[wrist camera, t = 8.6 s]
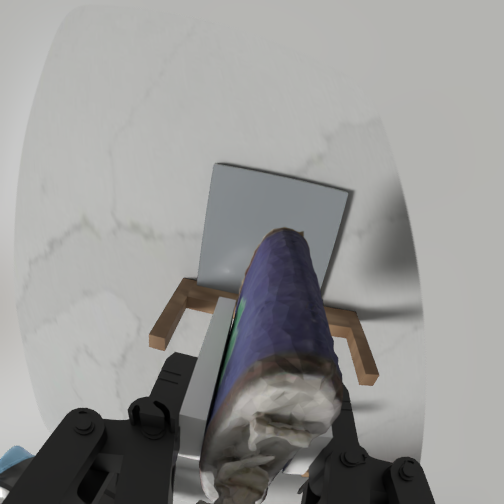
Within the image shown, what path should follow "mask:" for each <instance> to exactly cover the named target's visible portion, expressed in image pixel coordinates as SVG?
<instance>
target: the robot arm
mask: <svg viewBox="0 0 504 504" xmlns="http://www.w3.org/2000/svg"><path fill="white" fill-rule="evenodd" d="M235 303H236V300H233V299H229V298H224V297H219V299H218V302H217V305H216V307H215V310H214V313H213V316H212V319H211V322H210V325H209V328H208V330H207V333H206V336H205V339H204V342H203V345H202V348H201V351H200V354H199V357H193V356H189V355H185V354H181V353H178V352H175V353H173V354H172V355H171V356H170V357H168V358H167V359H166V361H165V363H164V365H163V367H162V370H161V372H160V374H159V376H158V379H157V380H156V383H155V385H154V387H153V389H152V391H151V394H150V396H149V397H143V398H139V399H137V400H135V401H134V402H133V403H131V405H130V407H129V408H128V414H129V419H128V420H110V419H102V417H101V416H100V414H98V413H97V412H96V411H94V410H91V409H88V408H77V409H74V410H72V411H71V412H69V413H68V414H67V415H66V416H65V418H64V419H63V420H62V421H61V423H60V424H59V425H58V427H57V428H56V429H55V430H54V432H53V433H52V434H51V436H50V437H49V438H48V440H47V441H46V442H45V444H44V445H43V446H42V448H41V449H40V450H39V452H38V453H37V454H36V456H34V455H32V454H30V453H29V452H28V451H26V450H25V449H24V448H22V447H20V446H14V447H12V448H11V449H9V450H8V451H7V452H6V453H5V454H4V455H3V456H2V458H1V459H0V504H173V492H174V481H175V470H176V460H177V456H178V453H179V456H183V457H187V458H191V459H195V460H200V455H201V448H202V444H203V440H204V436H205V432H206V428H207V425H208V422H209V418H210V413H211V410H212V406H213V402H214V398H215V393H216V390H217V386H218V382H219V377H220V372H221V368H222V365H223V362H224V357H225V353H226V349H227V344H228V340H229V335H230V329H231V324H232V319H233V314H234V308H235ZM342 384H343V382H342ZM308 469H309V479H308V480H307V481H306V482H305V483H304V484H303V485H302V486H301V487H300V489H299V491H298V493H297V494H301V493H302V492H303V495H302V501H301V504H435V501H434V498H433V496H432V493H431V490H430V487H429V485H428V482H427V479H426V477H425V474H424V471H423V469H422V467H421V465H420V464H419V462H417V461H416V460H415V459H413V458H410V457H401V458H398V459H396V460H395V461H394V462H393V463H390V462H386V461H382V460H378V459H375V458H372V457H370V456H369V455H368V453H367V452H366V450H365V449H364V448H362V447H361V446H360V445H359V442H358V438H357V432H356V427H355V422H354V417H353V412H352V407H351V403H350V397H349V392H348V390H347V388H346V387H345V385H344V384H343V399H342V406H341V411H340V414H339V416H338V417H337V418H336V419H335V421H334V422H333V423H332V425H331V427H330V428H329V429H328V431H327V432H326V433H324V434H322V435H320V436H318V437H316V438H314V439H313V440H312V442H311V444H310V446H309V447H308V448H304V447H303V448H301V449H300V450H299V451H298V452H297V453H296V454H295V455H294V457H293V458H292V459H290V460H289V461H288V462H287V463H286V464H285V466H284V468H283V473H286V474H301V475H304V473H305V472H306V471H307V470H308Z"/></svg>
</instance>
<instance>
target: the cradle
mask: <svg viewBox="0 0 504 504" xmlns="http://www.w3.org/2000/svg"><path fill="white" fill-rule="evenodd" d="M238 296H239V294H235V293H230V292H225V291H221V290H216V289H211V288H207V287H202V286H198V285H197V281H195V280H191V279H186V278H183V279H182V281H181V283H180V284H179V286H178V287H177V289H176V291H175V292H174V294H173V296H172V297H171V299H170V300H169V302H168V304H167V305H166V307H165V309H164V310H163V312H162V314H161V315H160V317H159V319H158V320H157V322H156V324H155V325H154V327H153V329H152V330H151V332H150V334H149V347H152V348H155V349H159V350H162V351H165V350H166V348H167V345H168V343H169V341H170V339H171V337H172V335H173V333H174V331H175V329H176V327H177V325H178V323H179V321H180V319H181V317H182V315H183V313H184V311H185V309H186V308H189V309H193V310H197V311H202V312H206V313H211V314H213V313H214V310H215V307H216V305H217V302H218V299H219V297H224V298H229V299H233V300H236V302H237V298H238ZM323 307H324V309H325V313H326V317H327V320H328V324H329V328H330V332H331V336H335V337H342V338H346V339H347V342H348V346H349V349H350V353H351V356H352V360H353V363H354V367H355V371H356V374H357V378H358V382H359V385H369V386H373V385H374V383H375V381H376V380H377V378H378V377H379V372H378V370H377V367H376V364H375V361H374V358H373V356H372V353H371V350H370V347H369V345H368V342H367V339H366V337H365V334H364V331H363V329H362V326H361V324H360V321H359V318H358V316H357V313H356V312H354V311H348V310H342V309H336V308H331V307H325V306H323ZM235 309H236V303H235V308H234V314H233V318H234V316H235ZM302 477H309V469H308V470H307V471H306V472H305V473H304V475H302Z"/></svg>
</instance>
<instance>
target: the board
mask: <svg viewBox="0 0 504 504" xmlns="http://www.w3.org/2000/svg"><path fill="white" fill-rule="evenodd" d="M347 197H348V192H347V191H344V190H340V189H336V188H332V187H328V186H324V185H319V184H315V183H311V182H307V181H302V180H298V179H294V178H289V177H284V176H280V175H275V174H270V173H265V172H260V171H255V170H250V169H245V168H239V167H234V166H228V165H223V164H217V163H215V164H214V166H213V172H212V178H211V184H210V191H209V197H208V204H207V210H206V217H205V224H204V231H203V238H202V246H201V254H200V261H199V269H198V278H197V285H198V286H202V287H207V288H211V289H216V290H221V291H225V292H230V293H235V294H239V292H240V290H239V288H240V286H241V285H242V280H243V279H244V276H245V274H244V273H245V271H246V269H247V267H248V266H249V263H250V261H251V258H252V256H253V255H254V254H253V252H254V251H255V249H256V248H257V246H258V245H259V244H260V243H261V242H262V239H263V237H264V236H265V235H266V234H267V233H268V232H270V231H271V230H272V229H276V228H282V227H287V228H290V229H293V230H295V231H297V232H301V231H304V238H305V239H306V241H307V243H308V245H309V249H310V257H311V259H312V264H313V268H314V271H315V273H316V275H317V278H318V283H319V287H320V289H321V286H322V283H323V279H324V276H325V273H326V270H327V267H328V264H329V260H330V257H331V254H332V250H333V247H334V244H335V240H336V237H337V233H338V230H339V226H340V223H341V219H342V215H343V212H344V208H345V204H346V200H347Z"/></svg>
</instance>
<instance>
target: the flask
mask: <svg viewBox="0 0 504 504" xmlns="http://www.w3.org/2000/svg"><path fill="white" fill-rule="evenodd" d="M253 254H254V255H253V256H252V258H251V261H250V263H249V266H248V267H247V269H246V271H245V273H244V274H245V276H244V279H243V280H242V285H241V286H240V288H239V290H240V292H239V296H238V298H237V302H236V309H235V316H234V321H233V325H232V328H231V331H230V335H229V340H228V344H227V349H226V353H225V357H224V362H223V365H222V368H221V372H220V377H219V382H218V386H217V390H216V393H215V398H214V402H213V406H212V410H211V413H210V418H209V422H208V425H207V428H206V432H205V436H204V440H203V444H202V448H201V455H200V460H199V468H200V480H201V486H202V489H203V491H204V492H205V495H206V497H207V498H208V499H210V500H212V501H214V504H261V503H262V502H263V501H264V500H265V498H266V495H267V490H268V486H270V483H271V482H272V481H273V480H274V478H275V476H276V475H277V474H278V473H279V471H280V470H281V469H283V468H284V466H285V464H286V463H287V462H288V461H289V460H290V459H292V458H293V457H294V455H295V454H296V453H297V452H298V451H299V450H300V449H301V448H303V447H304V448H308V447H309V446H310V444H311V442H312V440H313V439H314V438H316V437H318V436H320V435H322V434H324V433H326V432H327V431H328V429H329V428H330V427H331V425H332V423H333V422H334V421H335V419H336V418H337V417H338V416H339V414H340V411H341V406H342V399H343V384H342V373H341V371H340V368H339V365H338V357H337V355H336V354H335V352H334V348H333V346H334V340H333V338H332V336H331V332H330V328H329V324H328V320H327V317H326V313H325V309H324V307H323V300H322V298H321V290H320V287H319V283H318V278H317V275H316V273H315V271H314V268H313V264H312V259H311V257H310V249H309V245H308V243H307V241H306V239H305V238H304V231H301V232H297V231H295V230H293V229H290V228H287V227H282V228H276V229H272V230H271V231H270V232H268V233H267V234H266V235H265V236H264V237H263V239H262V242H261V243H260V244H259V245H258V246H257V248H256V249H255V251H254V252H253ZM196 504H211V503H206V502H205V501H202V500H199V501H198V502H197V503H196Z"/></svg>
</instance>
